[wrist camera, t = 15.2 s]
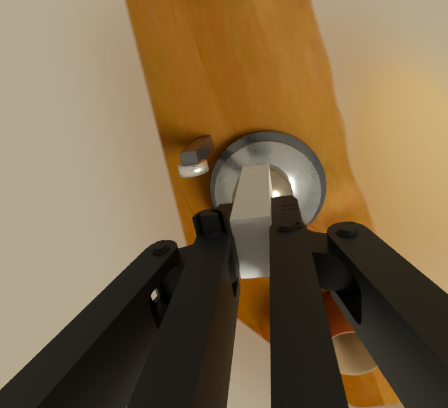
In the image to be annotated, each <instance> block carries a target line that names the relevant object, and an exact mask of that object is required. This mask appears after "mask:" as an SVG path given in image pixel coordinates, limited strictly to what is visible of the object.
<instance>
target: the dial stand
mask: <svg viewBox="0 0 448 408" xmlns="http://www.w3.org/2000/svg"><path fill="white" fill-rule="evenodd" d="M212 150H213V144H212V139H211V136H205V137H199V138H197V139H196V140H194V141H193V142H192V143H191V144H190V145H189V146H187V147H186V148H185V149H184V150H183V151H181V152H180V153H179V155H180V159H181V164H179V165H178V169H179V173H180V176H181V177H194V176H199V175H202V174H204V173H206V172H208V171H209V168H208V163H207V160H206V158H207V157H208V155H209V154H210V153H211V152H212Z"/></svg>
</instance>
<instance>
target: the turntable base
mask: <svg viewBox="0 0 448 408" xmlns="http://www.w3.org/2000/svg"><path fill="white" fill-rule="evenodd" d="M261 140H276V141H281V142H284V143H287V144H290V145H292V146H294V147H296V148H297V149H299V150H300V151H302V152H303V153H304V154H305V155H306V156H307V157H308V158H309V160H310V161H311V162H312V164H313V166H314V167H315V169H316V171H317V174H318V176H319V180H320V184H321V198H320V203H319V206H318V209H317V211H316V213H315V215H314V217H313V218H312V219H311V221H310V222H309V223H308V224H310V223H311V222H312V221H313V220H314V219H315V217H316V216H317V215H318V213H319V211H320V209H321V207H322V205H323V202H324V199H325V194H326V177H325V173H324V170H323V167H322V165H321V163H320V161H319V159H318V158H317V156H316V154H315V153H314V152H313V151H312V149H311V148H310V147H309V146H308V145H307V144H305V143H304V142H303V141H301V140H300V139H298V138H297V137H294V136H292V135H290V134H287V133H284V132H279V131H258V132H254V133H250V134H247V135H245V136H243V137H241V138H239V139H237V140H236V141H234V142H233V143H231V144H230V145H229V146H228V147H227V148H226V149H225V150H224V152H223V153H222V154H221V156H220V157H219V159H218V160H217V162H216V164H215V166H214V169H213V171H212V175H211V181H210V193H211V199H212V202H213V205H214V207H215V208H216V207H217V205H216V201H215V183H216V179H217V176H218V173H219V171H220V169H221V167H222V165H223V164H224V162H225V161H226V160H227V158H228V157H229V156H230V155H231V154H232V153H234V152H235V151H236V150H237V149H239V148H241V147H242V146H244V145H246V144H249V143H252V142H256V141H261Z"/></svg>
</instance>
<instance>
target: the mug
mask: <svg viewBox="0 0 448 408" xmlns="http://www.w3.org/2000/svg"><path fill="white" fill-rule="evenodd" d="M322 298H323V302H324V306H325V310H326V315H327V319H328V323H329V327H330V331H331V336H332V340H333V344H334V348H335V352H336V357H337V361H338V365H339V369H340V373H341V374H345V375H362V374H366V373H369V372H371V371H373V370H375V369H376V368H378V366H377V365H376V363H375V361H374V360H373V358H372V357H371V355H370V354H369V352H368V351H367V349H366V348H365V346H364V345H363V343H362V342H361V340H360V339H359V337H358V336H357V334H356V333H355V331H354V330H353V328H352V326H351V325H350V323H349V322H348V320H347V319H346V317H345V316H344V314H343V313H342V311H341V310H340V308H339V307H338V305H337V304H336V302H335V301H334V299H333V298H332V296H331V293H330V292H329V293H327V294H325V295H324V296H323V297H322Z"/></svg>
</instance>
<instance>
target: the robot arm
mask: <svg viewBox="0 0 448 408" xmlns="http://www.w3.org/2000/svg"><path fill="white" fill-rule="evenodd" d="M192 219H193V223H194V227H195V231H196V235H197V237H196V239H195V242H194V244H192V245H189V246H186V247H182V248H179V249H178V247H177V243H175V242H174V241H172V240H161V241H158V242H156V243H154V244H152V245H150V246H149V247H148V248H146V249H145V250H144V251H143V252H142V253H141V254H140V255H139V256H138V257H137V258H136V259H135V260H134V261H133V262H132V263H131V264H130V265H129V266H128V267H127V268H126V269H125V270H123V271H122V273H120V274H119V275H118V276H117V277H116V278H115V279H114V280H113V281H112V282H111V283H110V284H109V285H108V286H107V287H106V288H105V289H104V290H103V291H102V292H101V293H100V294H99V295H98V296H97V297H96V298H95V299H94V300H93V301H92V302H91V303H90V304H89V305H88V306H86V307H85V309H83V310H82V311H81V312H80V313H79V314H78V315H77V316H76V317H75V318H74V319H73V320H72V321H71V322H70V323H69V324H68V325H67V326H66V327H65V328H64V329H63V330H62V331H61V332H60V333H59V334H58V335H57V336H56V337H55V338H53V339H52V340H51V341H50V342H49V343H48V344H47V345H46V346H45V347H44V348H43V349H42V350H41V351H40V352H39V353H38V354H37V355H36V356H35V357H34V358H33V359H32V360H31V361H30V362H29V363H28V364H27V365H26V366H25V367H24V368H23V369H22V370H21V371H19V373H17V375H15V376H14V377H13V379H11V380H10V381H9V382H8V383H7V384H6V385H5V386H4V387H3V388H2V389H1V390H0V408H126V407H127V408H226V407H227V399H228V390H229V382H230V373H231V364H232V356H233V347H234V338H235V329H236V321H237V312H238V304H239V295H240V282H239V277H238V276H239V270H240V275H241V279H243V278H258V277H270V346H271V347H270V348H271V349H270V350H271V408H349V407H348V403H347V399H346V394H345V390H344V386H343V382H342V378H341V373H340V369H339V365H338V361H337V357H336V352H335V348H334V344H333V340H332V336H331V331H330V327H329V323H328V319H327V315H326V310H325V306H324V302H323V298H322V294H321V289H327V290H330V293H331V296H332V298H333V299H334V301H335V302H336V304H337V305H338V307H339V308H340V310H341V311H342V313H343V314H344V316H345V317H346V319H347V320H348V322H349V323H350V325H351V326H352V328H353V330H354V331H355V333H356V334H357V336H358V337H359V339H360V340H361V342H362V343H363V345H364V346H365V348H366V349H367V351H368V352H369V354H370V355H371V357H372V358H373V360H374V361H375V363H376V365H377V366H378V368H379V369H380V371H381V372H382V374H383V375H384V377H385V378H386V380H387V381H388V383H389V384H390V386H391V387H392V389H393V390H394V392H395V393H396V395H397V396H398V398H399V400H400V401H401V403H402V404H403V406H404V407H405V408H448V294H447V293H446V292H444V291H443V290H442V289H441V288H440V287H438V286H437V285H436V284H435V283H434V282H432V281H431V280H430V279H429V278H427V277H426V276H425V275H424V274H422V273H421V272H420V271H419V270H418V269H416V268H415V267H414V266H413V265H412V264H411V263H409V262H408V261H407V260H406V259H405V258H403V257H402V256H401V255H400V254H398V253H397V252H396V251H395V250H394V249H392V248H391V247H390V246H389V245H388V244H386V243H385V242H384V241H383V240H381V239H380V238H379V237H378V236H377V235H375V234H374V233H373V232H372V231H371V230H369V229H368V228H367V227H365V226H364V225H362V224H359V223H355V222H340V223H336V224H333V225H331V226H330V227H329V228H328V230H327V233H319V232H314V231H311V230H309V229H307V228H306V226H305V224H304V223H303V221H302V217H301V213H300V209H299V205H298V200H297V198H295V197H294V196H293V195H287V196H278V197H273V193H272V185H271V177H270V170H269V163H266V164H259V165H252V166H245V167H242V171H241V175H240V179H239V184H238V188H237V192H236V196H235V200H234V203H225V204H220V205H218V206H217V207H216V208H211V209H206V210H203V211H200V212H198V213H197V214H195V215H194V216H193V217H192ZM320 288H321V289H320ZM154 290H156V293H157V297H156V298H155V299H154V300H152V298H151V294H152V292H153V291H154ZM127 405H128V406H127Z"/></svg>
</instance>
